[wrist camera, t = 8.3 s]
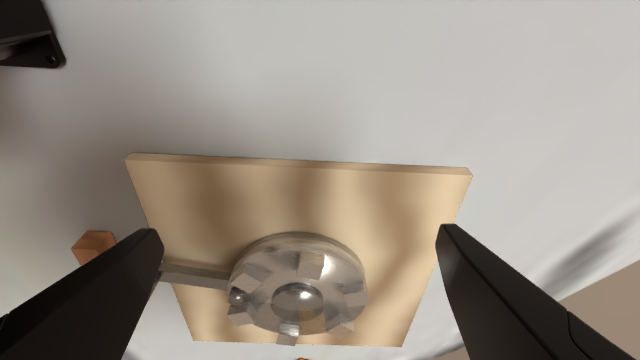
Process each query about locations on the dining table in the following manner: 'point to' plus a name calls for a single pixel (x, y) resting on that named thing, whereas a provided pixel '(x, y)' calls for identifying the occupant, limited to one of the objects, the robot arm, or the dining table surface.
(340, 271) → the gear crank handle
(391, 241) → the base plate
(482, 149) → the dining table surface
